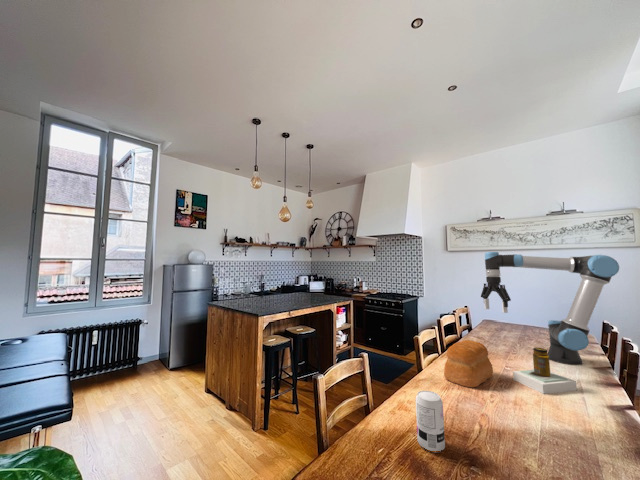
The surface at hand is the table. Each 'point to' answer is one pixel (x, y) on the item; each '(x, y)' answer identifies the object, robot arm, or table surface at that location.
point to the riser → (545, 382)
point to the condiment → (541, 364)
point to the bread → (468, 364)
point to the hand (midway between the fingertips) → (495, 310)
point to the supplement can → (430, 421)
